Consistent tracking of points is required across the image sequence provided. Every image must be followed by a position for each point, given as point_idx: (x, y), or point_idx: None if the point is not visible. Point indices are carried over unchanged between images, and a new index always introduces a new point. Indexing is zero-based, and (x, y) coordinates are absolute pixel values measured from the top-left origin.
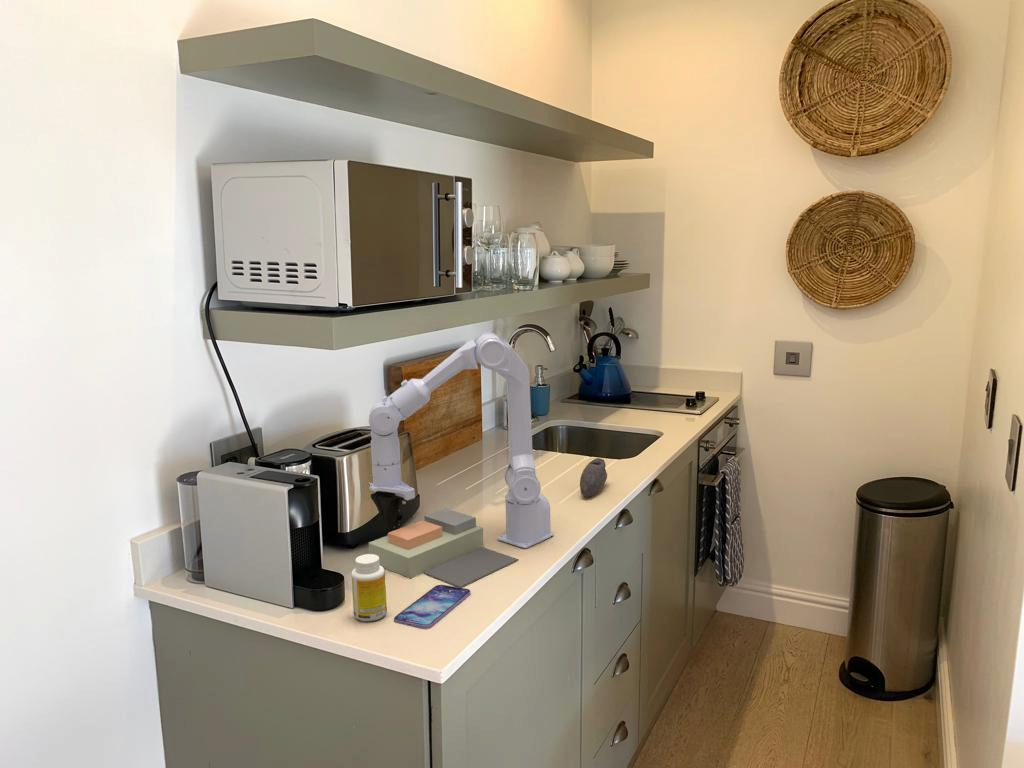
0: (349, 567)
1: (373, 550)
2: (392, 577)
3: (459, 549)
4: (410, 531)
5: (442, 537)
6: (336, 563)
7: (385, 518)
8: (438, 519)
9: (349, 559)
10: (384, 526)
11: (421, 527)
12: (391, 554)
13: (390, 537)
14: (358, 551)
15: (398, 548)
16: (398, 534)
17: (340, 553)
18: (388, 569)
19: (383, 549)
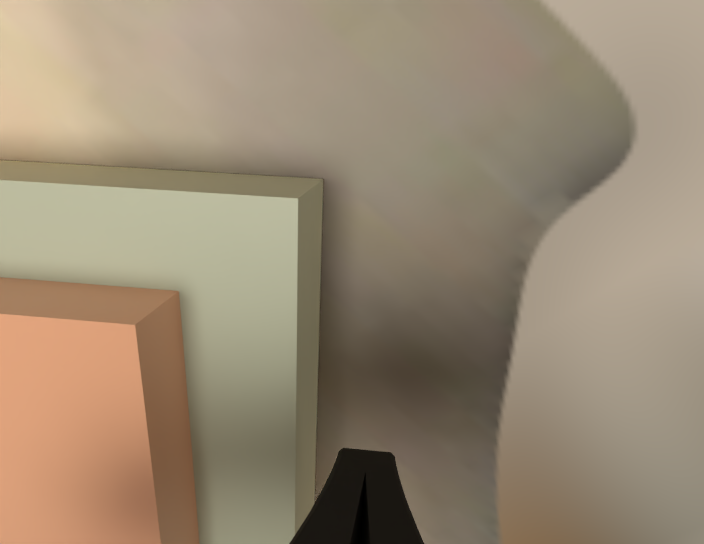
0: (361, 32)
1: (253, 188)
2: (38, 103)
3: None
4: (32, 444)
5: None
6: (492, 18)
7: (329, 504)
8: None
9: (464, 126)
10: (381, 454)
11: (48, 534)
12: (29, 177)
13: (120, 308)
14: (509, 250)
15: (27, 254)
16: (35, 349)
17: (595, 158)
18: (144, 168)
19: (110, 185)
